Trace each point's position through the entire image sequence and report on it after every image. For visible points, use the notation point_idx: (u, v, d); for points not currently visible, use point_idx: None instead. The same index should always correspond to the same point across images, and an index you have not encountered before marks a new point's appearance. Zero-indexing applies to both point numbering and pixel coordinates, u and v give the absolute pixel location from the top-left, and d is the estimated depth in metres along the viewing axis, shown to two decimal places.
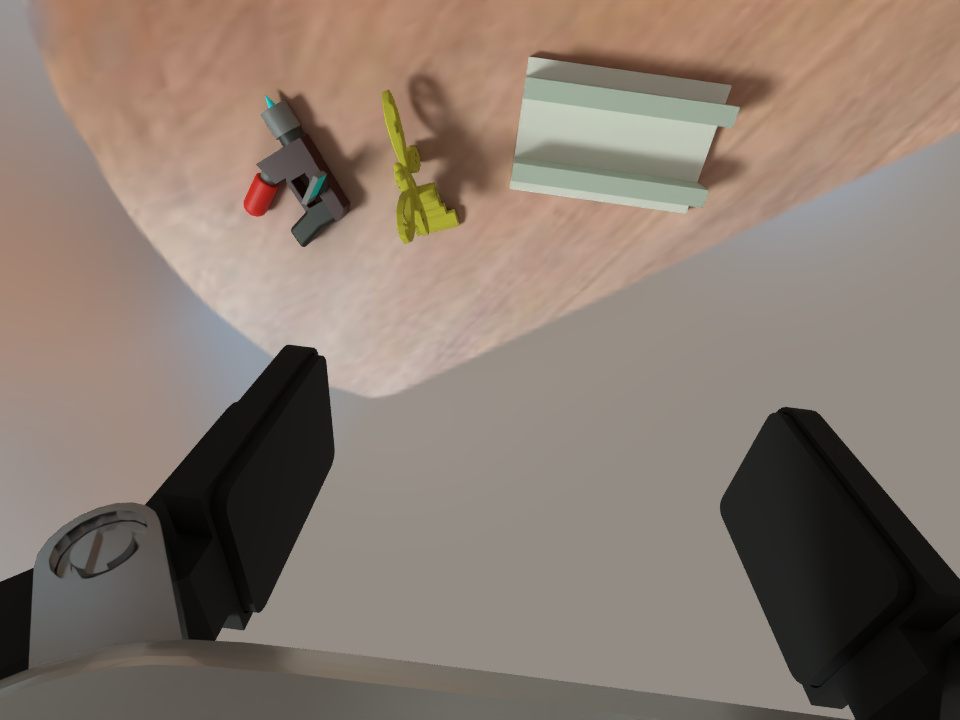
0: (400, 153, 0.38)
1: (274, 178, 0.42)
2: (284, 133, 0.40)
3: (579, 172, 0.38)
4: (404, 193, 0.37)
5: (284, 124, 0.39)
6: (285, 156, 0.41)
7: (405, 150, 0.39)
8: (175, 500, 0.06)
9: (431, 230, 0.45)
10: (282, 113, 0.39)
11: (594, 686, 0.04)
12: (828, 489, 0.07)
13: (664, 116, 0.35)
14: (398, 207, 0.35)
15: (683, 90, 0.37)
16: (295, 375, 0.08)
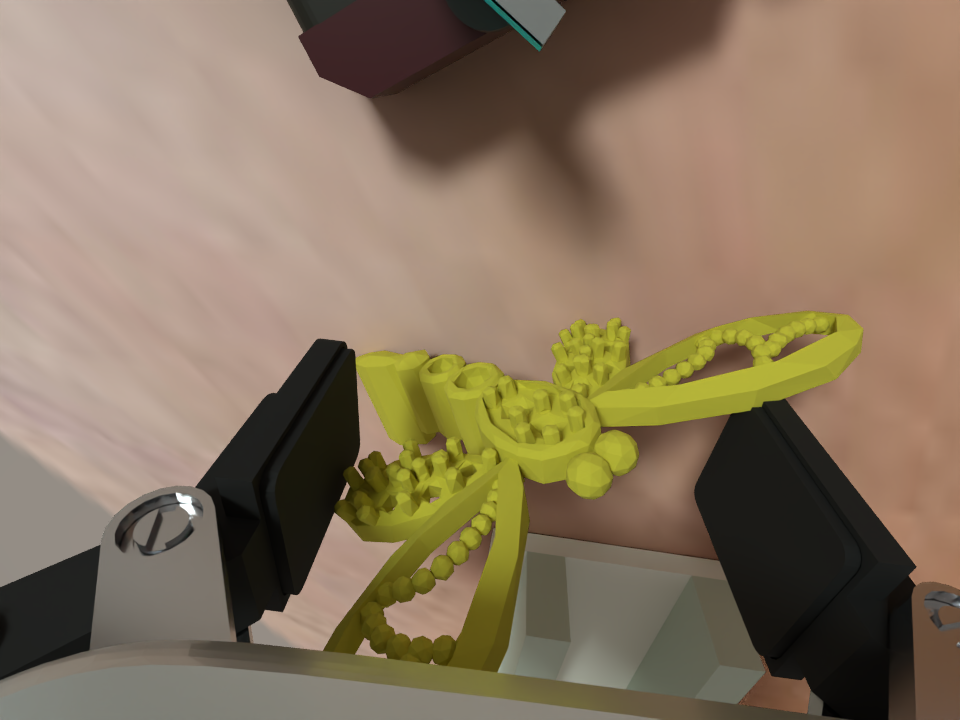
0: (653, 418, 0.09)
1: None
2: None
3: None
4: (523, 541, 0.08)
5: None
6: None
7: None
8: (228, 483, 0.06)
9: (362, 372, 0.14)
10: None
11: (594, 686, 0.04)
12: (788, 469, 0.08)
13: None
14: None
15: None
16: (329, 367, 0.09)
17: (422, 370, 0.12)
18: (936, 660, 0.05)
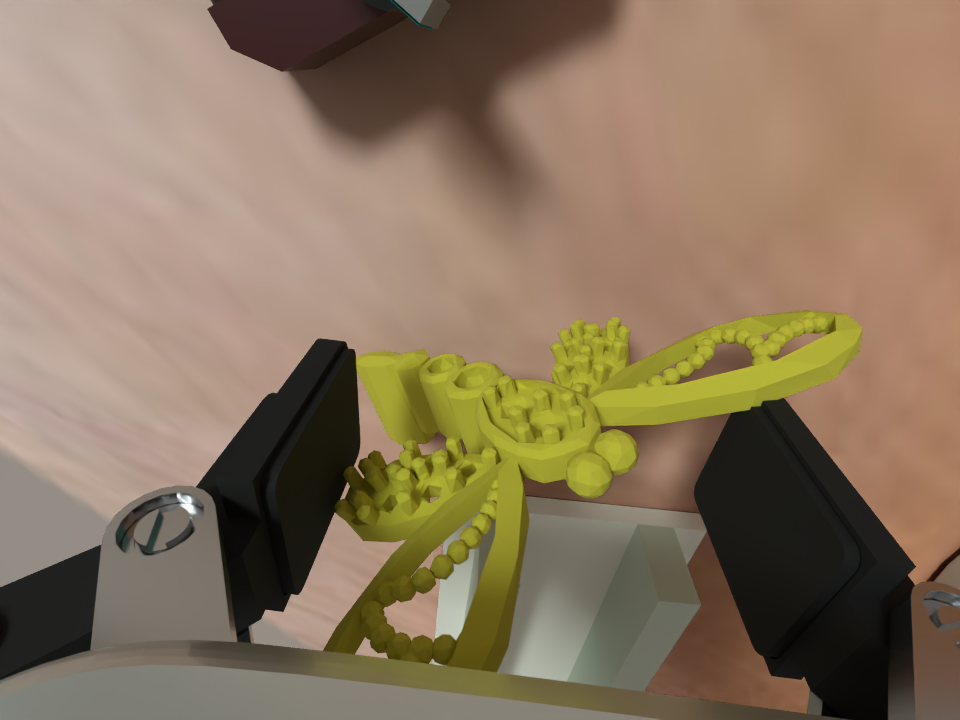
0: (653, 418, 0.09)
1: None
2: None
3: None
4: (523, 540, 0.08)
5: None
6: None
7: None
8: (228, 483, 0.06)
9: (362, 372, 0.14)
10: None
11: (594, 686, 0.04)
12: (787, 469, 0.08)
13: None
14: None
15: None
16: (329, 367, 0.09)
17: (422, 370, 0.12)
18: (935, 660, 0.05)
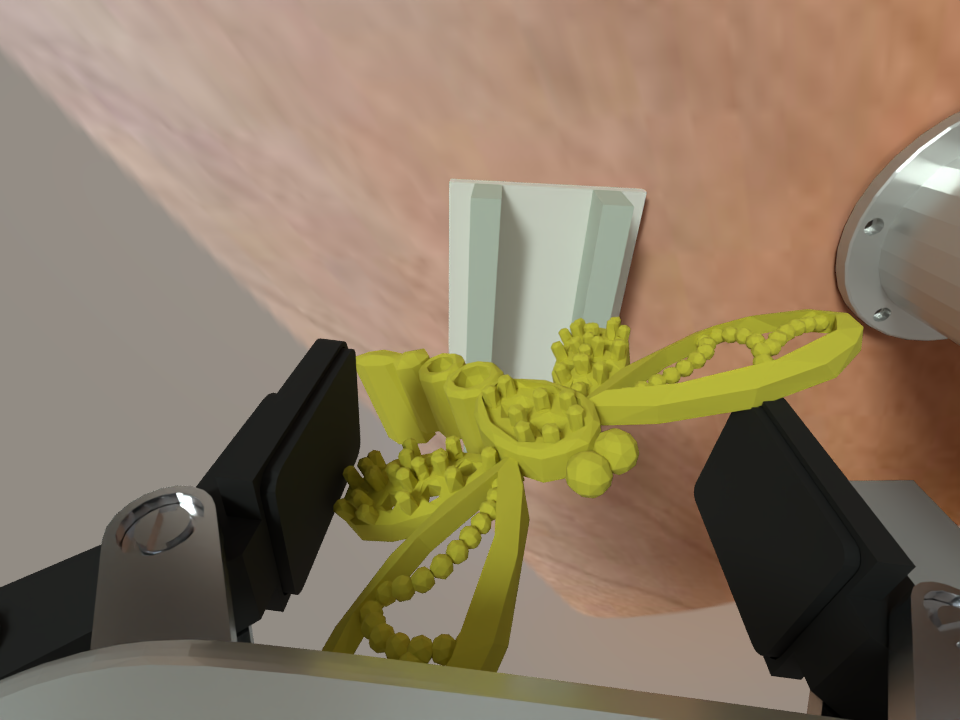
0: (653, 417, 0.09)
1: None
2: None
3: (494, 305, 0.24)
4: (523, 539, 0.08)
5: None
6: None
7: None
8: (228, 483, 0.06)
9: (362, 371, 0.14)
10: None
11: (594, 686, 0.04)
12: (787, 469, 0.08)
13: None
14: None
15: None
16: (329, 367, 0.09)
17: (421, 369, 0.12)
18: (935, 660, 0.05)
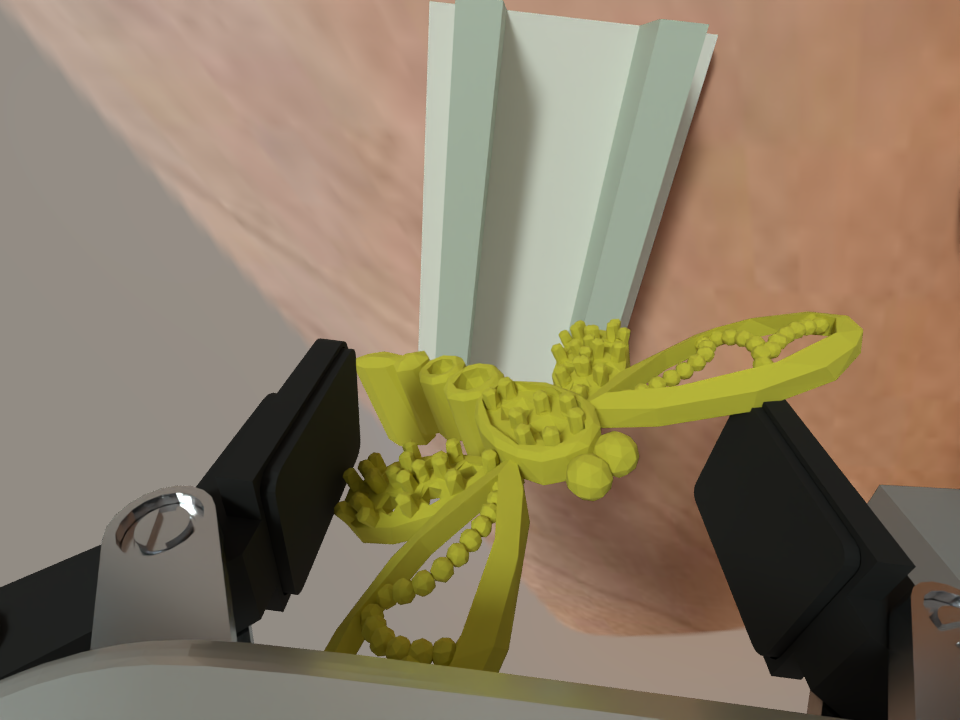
0: (653, 419, 0.09)
1: None
2: None
3: (483, 190, 0.17)
4: (523, 542, 0.08)
5: None
6: None
7: None
8: (228, 483, 0.06)
9: (362, 374, 0.14)
10: None
11: (594, 686, 0.04)
12: (787, 468, 0.08)
13: None
14: None
15: None
16: (329, 367, 0.09)
17: (422, 371, 0.12)
18: (935, 660, 0.05)
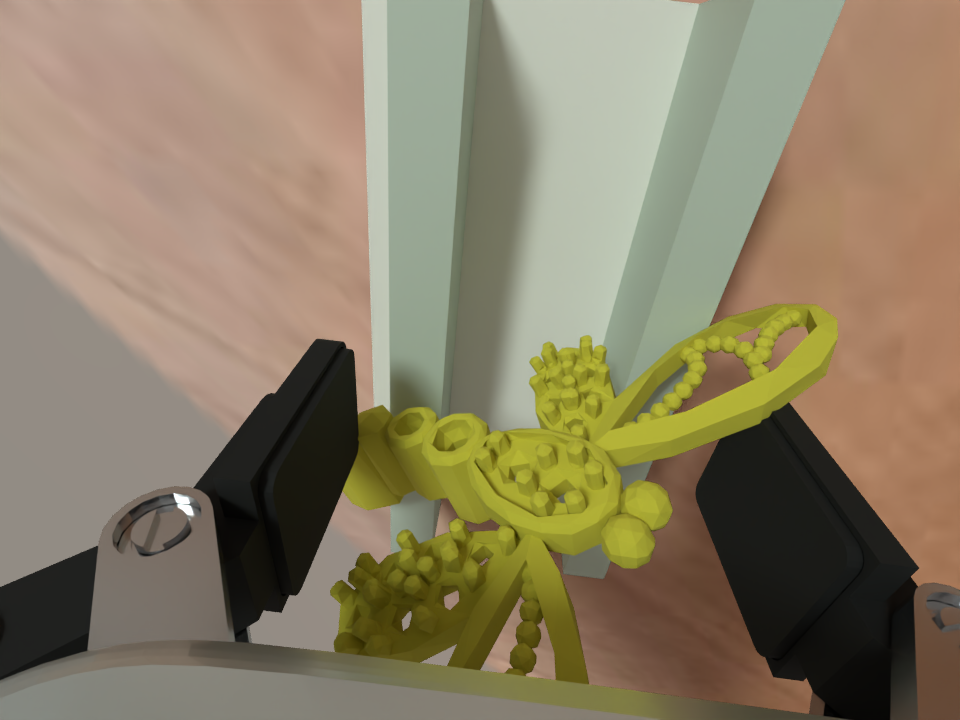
0: (666, 451, 0.09)
1: None
2: None
3: (449, 266, 0.10)
4: (579, 640, 0.07)
5: None
6: None
7: None
8: (226, 484, 0.06)
9: None
10: None
11: (594, 686, 0.04)
12: (789, 470, 0.08)
13: None
14: None
15: None
16: (328, 367, 0.09)
17: (388, 433, 0.11)
18: (938, 661, 0.05)
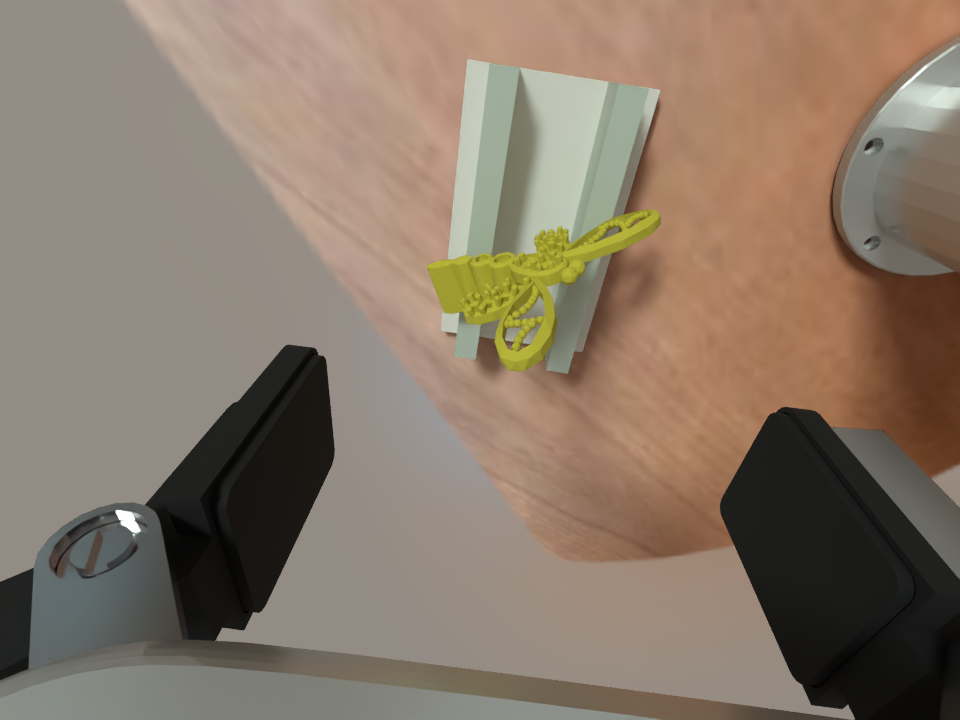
0: (587, 258, 0.23)
1: None
2: None
3: (500, 189, 0.24)
4: None
5: None
6: None
7: None
8: (175, 500, 0.06)
9: (433, 272, 0.25)
10: None
11: (594, 686, 0.04)
12: (828, 489, 0.07)
13: (567, 297, 0.27)
14: (554, 323, 0.19)
15: None
16: (295, 375, 0.08)
17: (472, 261, 0.24)
18: None
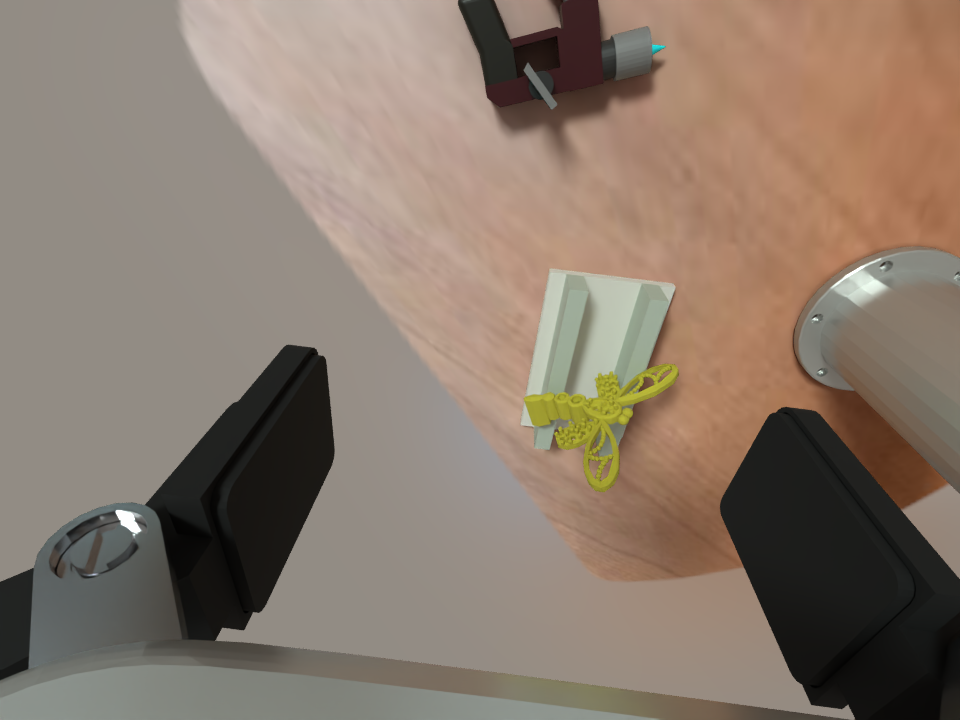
0: (632, 402, 0.36)
1: (568, 7, 0.27)
2: (615, 59, 0.28)
3: (572, 352, 0.37)
4: (613, 437, 0.34)
5: (625, 67, 0.28)
6: (589, 46, 0.28)
7: None
8: (175, 500, 0.06)
9: (528, 403, 0.39)
10: (638, 69, 0.29)
11: (594, 686, 0.04)
12: (828, 489, 0.07)
13: None
14: (618, 459, 0.32)
15: None
16: (295, 375, 0.08)
17: (556, 399, 0.38)
18: None
